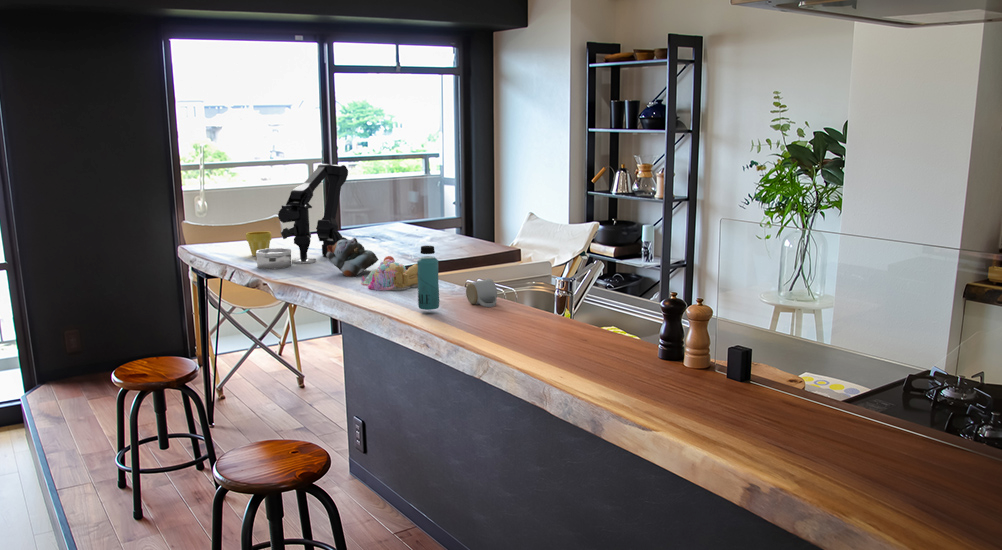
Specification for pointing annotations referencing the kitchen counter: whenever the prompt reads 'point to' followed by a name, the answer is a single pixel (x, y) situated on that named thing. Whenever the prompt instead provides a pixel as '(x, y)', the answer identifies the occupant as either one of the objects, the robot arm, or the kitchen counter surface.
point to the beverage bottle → (428, 280)
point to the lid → (303, 260)
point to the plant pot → (258, 240)
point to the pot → (273, 258)
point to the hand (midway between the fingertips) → (303, 258)
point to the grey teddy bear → (350, 257)
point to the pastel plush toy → (392, 276)
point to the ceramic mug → (482, 293)
